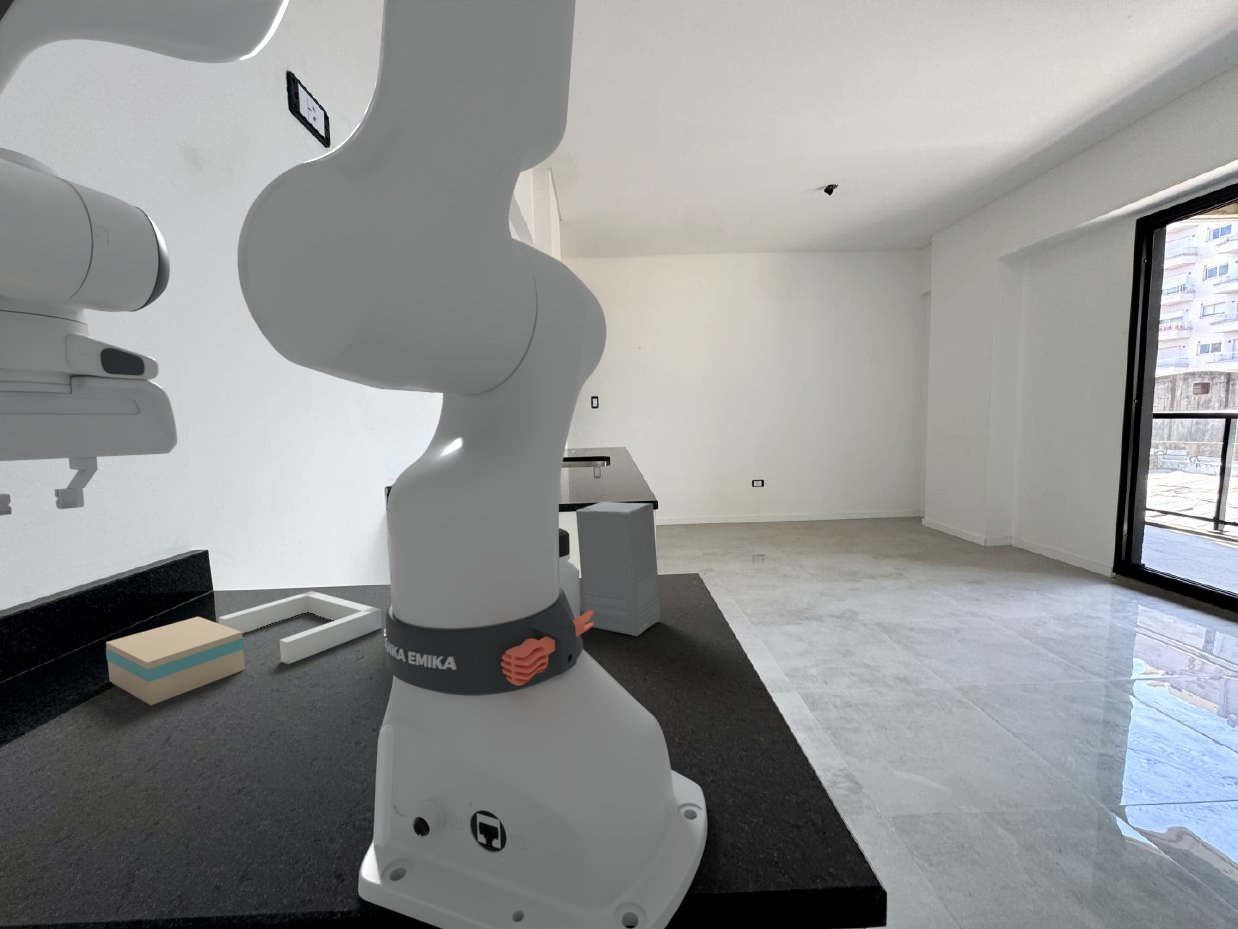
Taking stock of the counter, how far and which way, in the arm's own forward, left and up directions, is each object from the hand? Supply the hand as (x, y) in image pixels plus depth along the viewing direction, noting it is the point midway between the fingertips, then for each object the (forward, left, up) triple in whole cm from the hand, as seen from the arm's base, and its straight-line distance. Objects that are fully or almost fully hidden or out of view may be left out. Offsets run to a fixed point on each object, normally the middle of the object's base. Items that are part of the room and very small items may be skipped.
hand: (35, 511), depth 45 cm
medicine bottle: (-25, -41, -19) cm, 52 cm away
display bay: (0, -21, -19) cm, 28 cm away
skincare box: (-35, -43, -19) cm, 59 cm away
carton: (0, -9, -19) cm, 21 cm away
